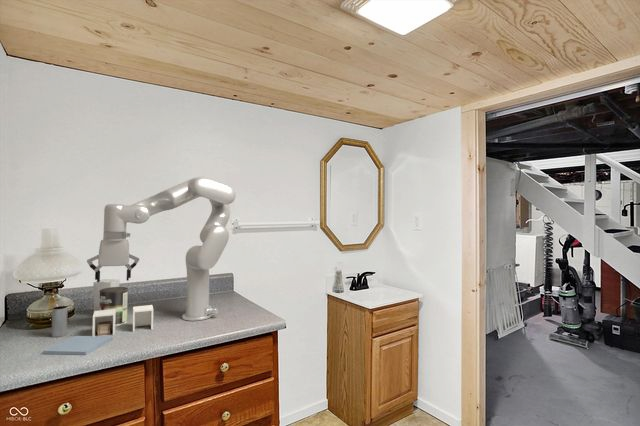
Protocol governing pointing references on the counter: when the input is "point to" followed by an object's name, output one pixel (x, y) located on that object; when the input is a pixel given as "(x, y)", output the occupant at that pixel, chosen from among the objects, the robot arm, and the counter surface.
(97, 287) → the skincare box
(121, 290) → the coffee can
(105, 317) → the white box
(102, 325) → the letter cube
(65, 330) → the grey cylinder
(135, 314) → the plain white cube box
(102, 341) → the slate board
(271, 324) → the counter surface
